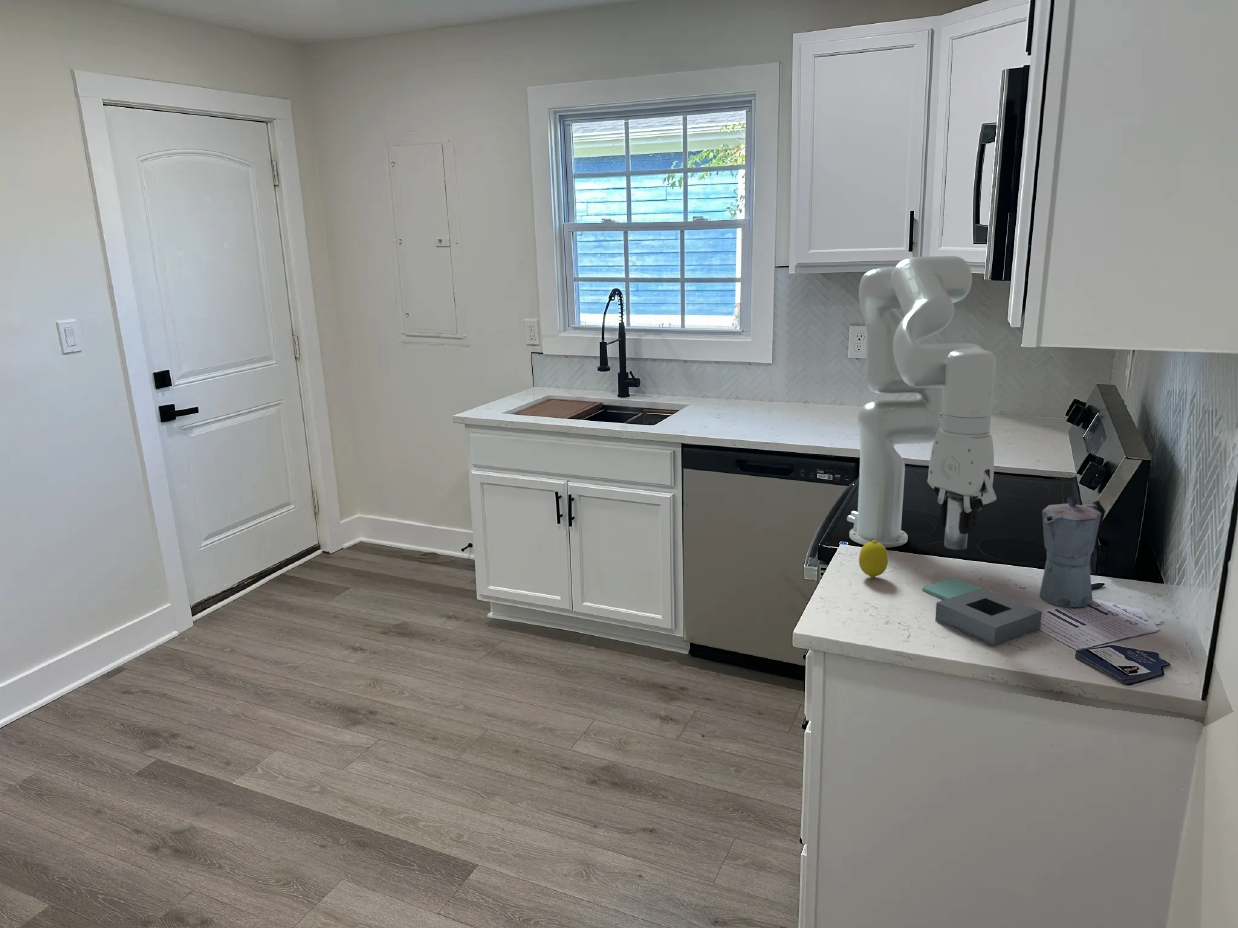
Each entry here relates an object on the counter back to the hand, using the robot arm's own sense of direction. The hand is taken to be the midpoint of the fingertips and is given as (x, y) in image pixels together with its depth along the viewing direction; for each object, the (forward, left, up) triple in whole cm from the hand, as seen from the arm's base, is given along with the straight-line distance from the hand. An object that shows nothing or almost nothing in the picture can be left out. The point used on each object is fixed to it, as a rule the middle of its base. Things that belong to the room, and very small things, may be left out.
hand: (957, 528), depth 145 cm
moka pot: (+4, +26, -18) cm, 32 cm away
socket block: (+4, +4, -17) cm, 18 cm away
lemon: (-22, +3, -18) cm, 28 cm away
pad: (-8, +11, -17) cm, 22 cm away
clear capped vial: (0, 0, -3) cm, 3 cm away
